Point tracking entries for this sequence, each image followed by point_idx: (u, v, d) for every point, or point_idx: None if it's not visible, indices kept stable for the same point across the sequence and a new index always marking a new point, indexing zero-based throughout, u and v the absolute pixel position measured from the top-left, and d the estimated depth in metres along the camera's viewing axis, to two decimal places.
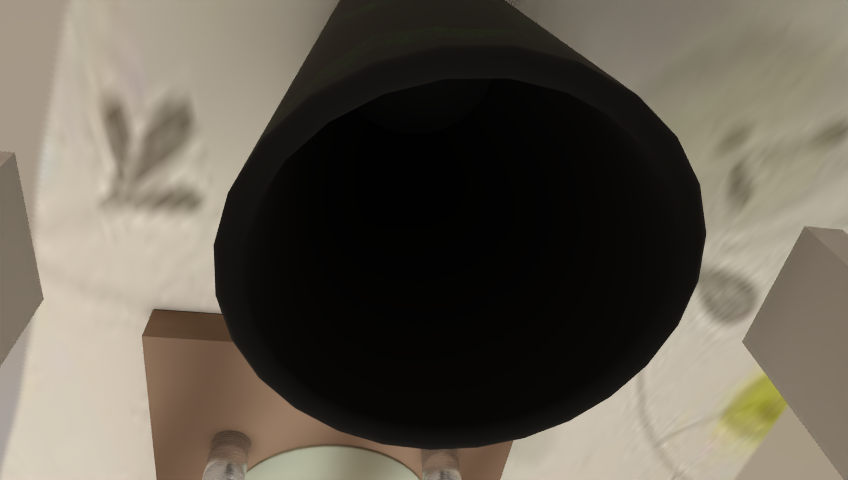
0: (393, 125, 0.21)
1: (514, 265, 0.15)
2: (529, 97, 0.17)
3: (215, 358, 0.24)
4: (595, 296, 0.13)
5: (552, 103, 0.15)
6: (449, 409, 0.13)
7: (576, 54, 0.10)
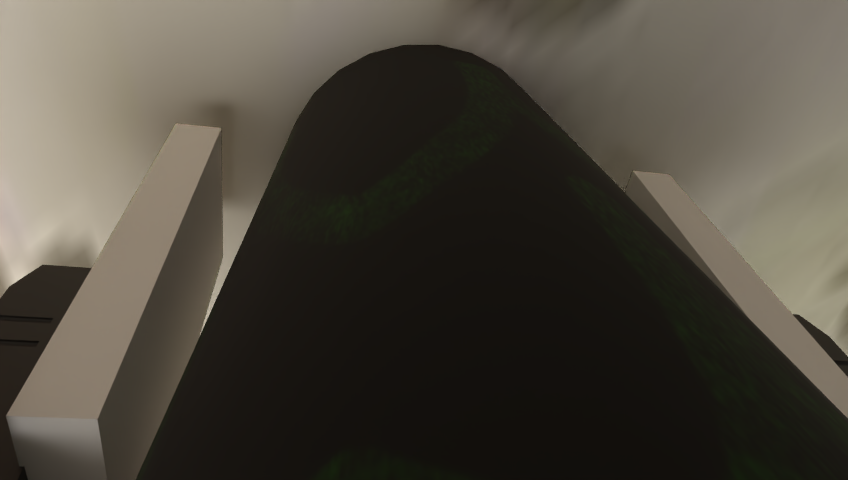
0: None
1: None
2: None
3: None
4: None
5: None
6: None
7: None
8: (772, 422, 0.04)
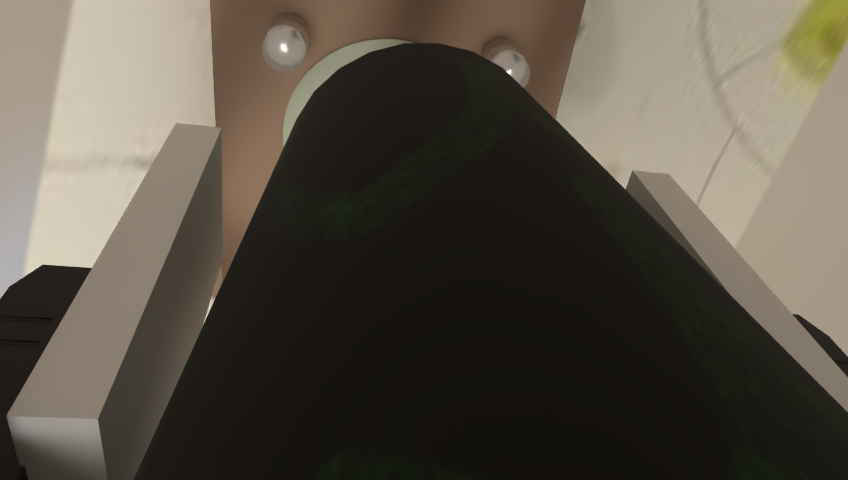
0: None
1: None
2: None
3: None
4: None
5: None
6: None
7: None
8: (777, 419, 0.04)
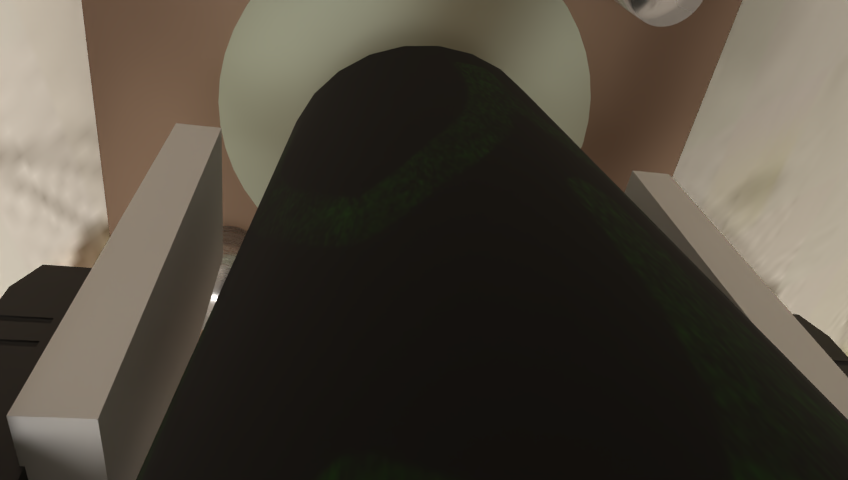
0: None
1: None
2: None
3: None
4: None
5: None
6: None
7: None
8: (775, 427, 0.04)
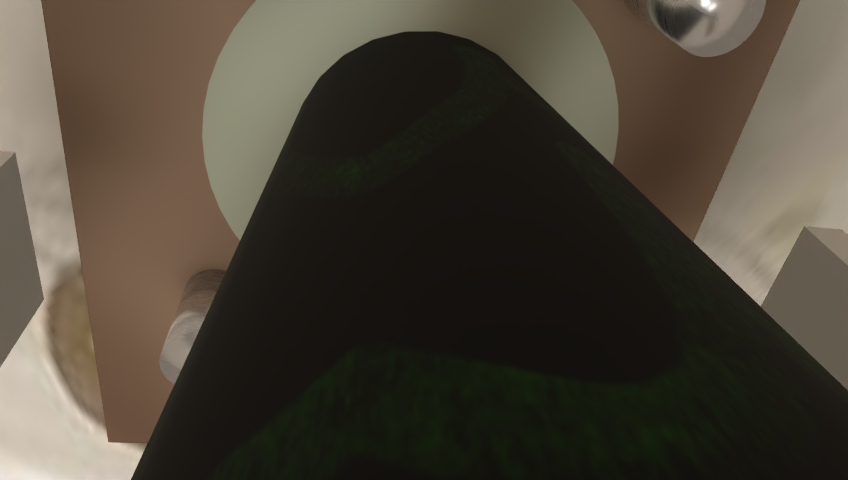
0: None
1: None
2: None
3: None
4: None
5: None
6: None
7: (820, 383, 0.04)
8: (724, 327, 0.04)
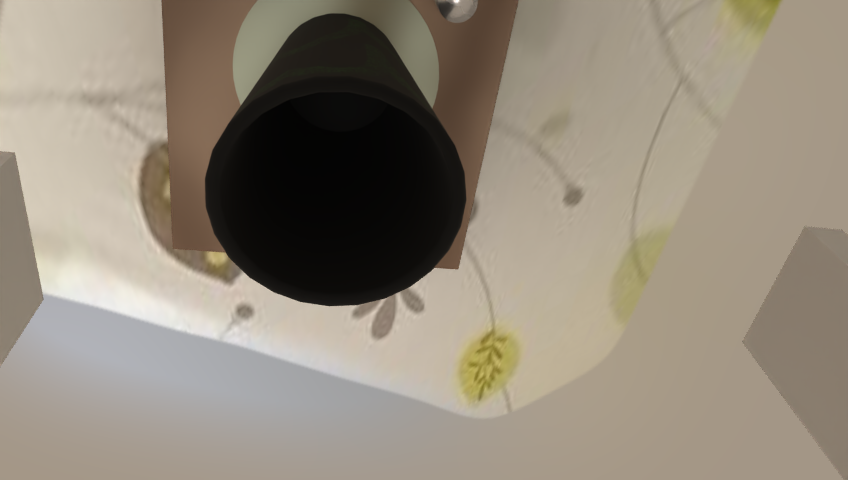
0: (325, 126, 0.30)
1: (391, 208, 0.24)
2: None
3: None
4: (427, 218, 0.22)
5: None
6: (342, 284, 0.22)
7: (395, 79, 0.19)
8: (375, 68, 0.19)
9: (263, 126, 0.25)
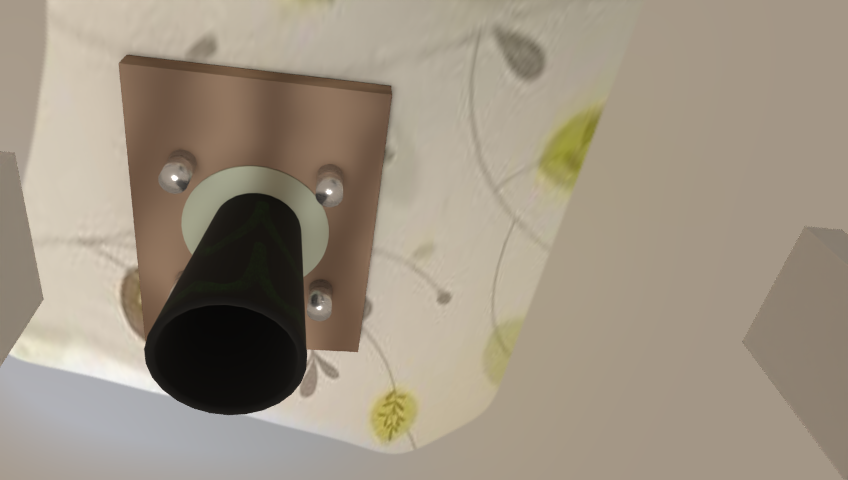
0: None
1: (278, 341, 0.37)
2: None
3: (168, 84, 0.36)
4: (292, 357, 0.34)
5: None
6: (237, 400, 0.34)
7: (260, 286, 0.32)
8: (248, 278, 0.32)
9: None
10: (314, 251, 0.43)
